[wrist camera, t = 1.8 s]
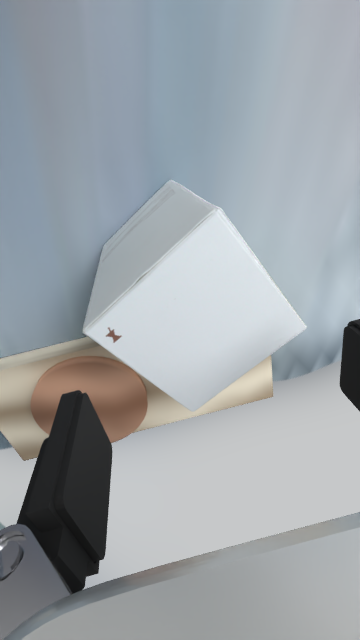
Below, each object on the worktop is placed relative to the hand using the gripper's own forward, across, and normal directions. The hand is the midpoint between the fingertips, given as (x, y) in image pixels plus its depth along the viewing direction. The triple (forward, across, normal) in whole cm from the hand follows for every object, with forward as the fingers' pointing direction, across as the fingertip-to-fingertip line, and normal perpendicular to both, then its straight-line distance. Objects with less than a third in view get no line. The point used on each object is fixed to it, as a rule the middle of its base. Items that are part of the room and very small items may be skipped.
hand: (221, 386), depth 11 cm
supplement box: (+16, 0, -1) cm, 16 cm away
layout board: (+16, +6, +10) cm, 20 cm away
